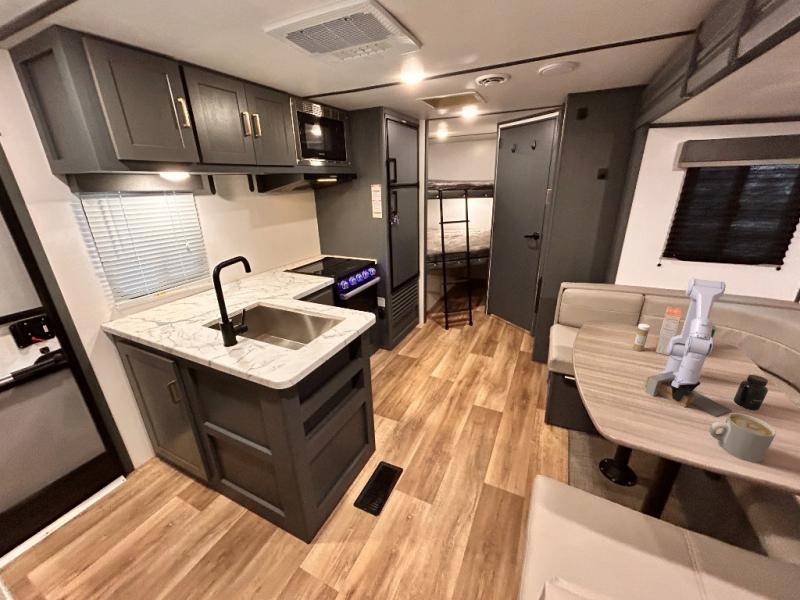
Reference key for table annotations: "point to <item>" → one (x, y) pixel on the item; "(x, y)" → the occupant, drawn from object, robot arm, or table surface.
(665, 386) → the wooden block
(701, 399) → the pad
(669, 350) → the robot arm
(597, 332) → the table surface
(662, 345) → the cracker box
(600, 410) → the table surface
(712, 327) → the soda can
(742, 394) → the supplement bottle
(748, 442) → the coffee mug
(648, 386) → the housing
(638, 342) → the sprinkles bottle
